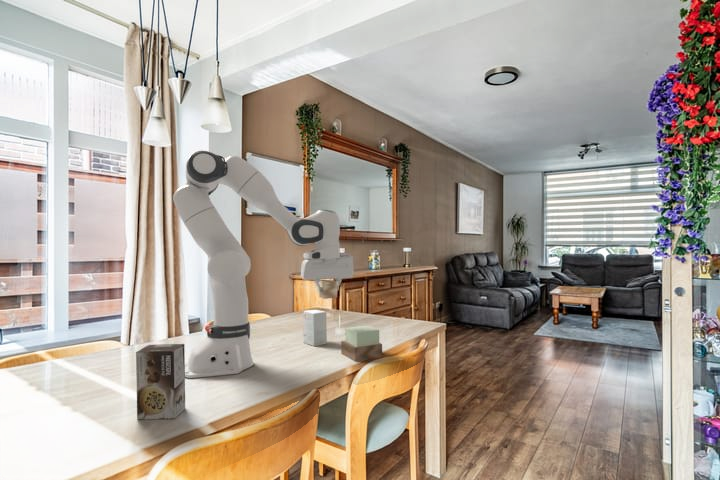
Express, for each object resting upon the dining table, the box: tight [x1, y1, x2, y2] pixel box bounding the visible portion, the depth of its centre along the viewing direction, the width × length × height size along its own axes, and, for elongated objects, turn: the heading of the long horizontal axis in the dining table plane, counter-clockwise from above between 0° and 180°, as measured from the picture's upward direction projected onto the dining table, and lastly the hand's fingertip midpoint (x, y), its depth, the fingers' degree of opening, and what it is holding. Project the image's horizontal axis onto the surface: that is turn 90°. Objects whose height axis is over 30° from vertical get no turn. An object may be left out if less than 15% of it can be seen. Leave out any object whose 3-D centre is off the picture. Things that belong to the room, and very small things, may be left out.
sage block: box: [345, 325, 380, 347], centre depth 142 cm, size 9×9×5 cm
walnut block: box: [340, 340, 383, 362], centre depth 142 cm, size 11×11×5 cm
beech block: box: [318, 279, 338, 300], centre depth 145 cm, size 5×5×6 cm
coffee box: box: [135, 343, 186, 420], centre depth 94 cm, size 9×6×16 cm
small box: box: [302, 309, 328, 347], centre depth 159 cm, size 8×6×13 cm
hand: (328, 291), depth 145 cm, fingers closed on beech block, 5 cm apart
